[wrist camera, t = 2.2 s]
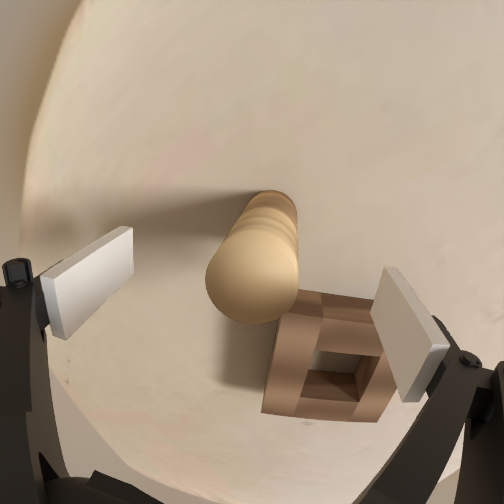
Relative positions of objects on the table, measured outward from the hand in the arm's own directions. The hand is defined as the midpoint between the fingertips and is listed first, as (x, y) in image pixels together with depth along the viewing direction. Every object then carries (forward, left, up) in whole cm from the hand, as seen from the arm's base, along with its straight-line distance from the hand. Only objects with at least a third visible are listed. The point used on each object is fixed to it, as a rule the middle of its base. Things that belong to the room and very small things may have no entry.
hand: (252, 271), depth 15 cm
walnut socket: (+12, +8, -10) cm, 17 cm away
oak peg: (0, 0, -10) cm, 10 cm away
